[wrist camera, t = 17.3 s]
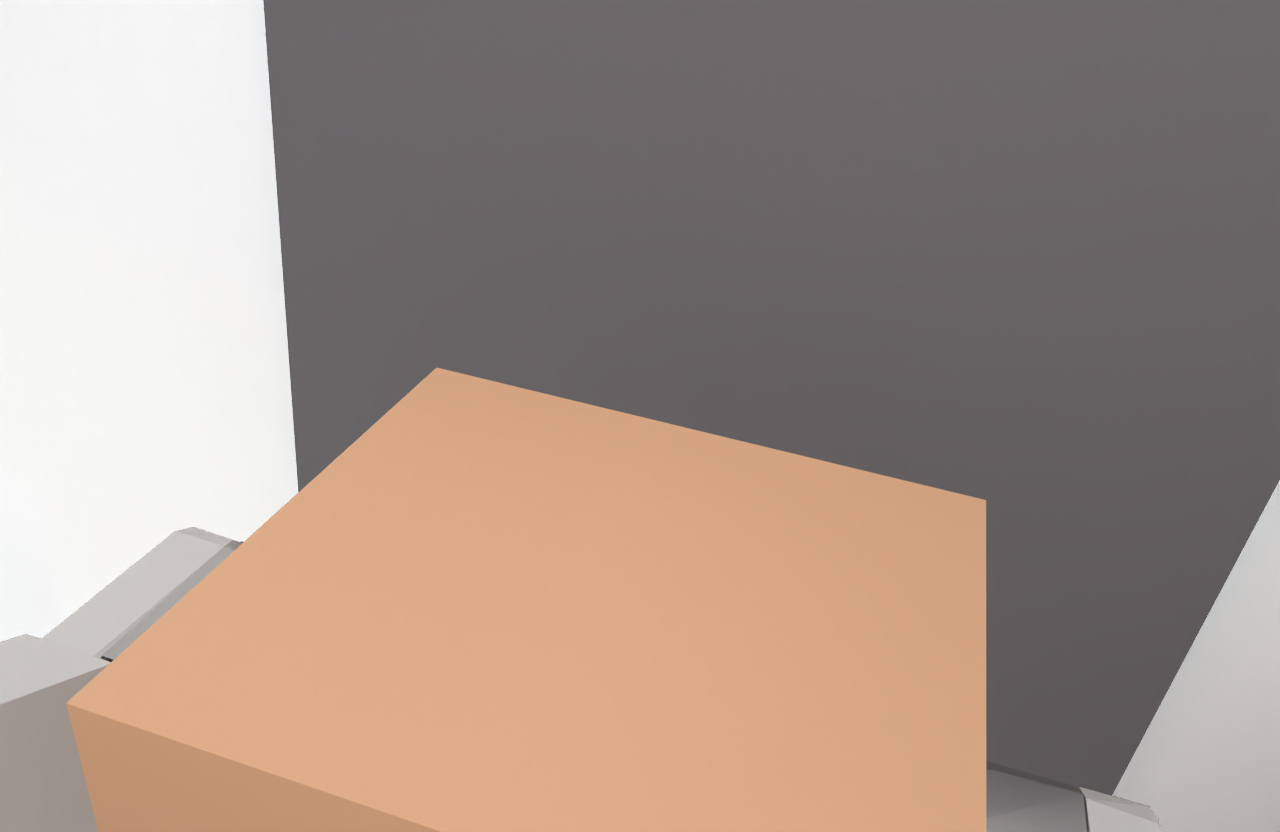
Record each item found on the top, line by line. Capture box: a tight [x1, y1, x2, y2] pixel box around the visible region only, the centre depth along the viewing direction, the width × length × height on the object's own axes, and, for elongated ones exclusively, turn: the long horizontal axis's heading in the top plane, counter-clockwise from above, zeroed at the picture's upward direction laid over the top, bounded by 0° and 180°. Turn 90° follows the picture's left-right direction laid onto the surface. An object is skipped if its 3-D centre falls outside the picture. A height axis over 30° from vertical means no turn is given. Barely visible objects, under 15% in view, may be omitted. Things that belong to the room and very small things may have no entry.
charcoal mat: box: [264, 0, 1280, 796], centre depth 12 cm, size 12×12×1 cm
